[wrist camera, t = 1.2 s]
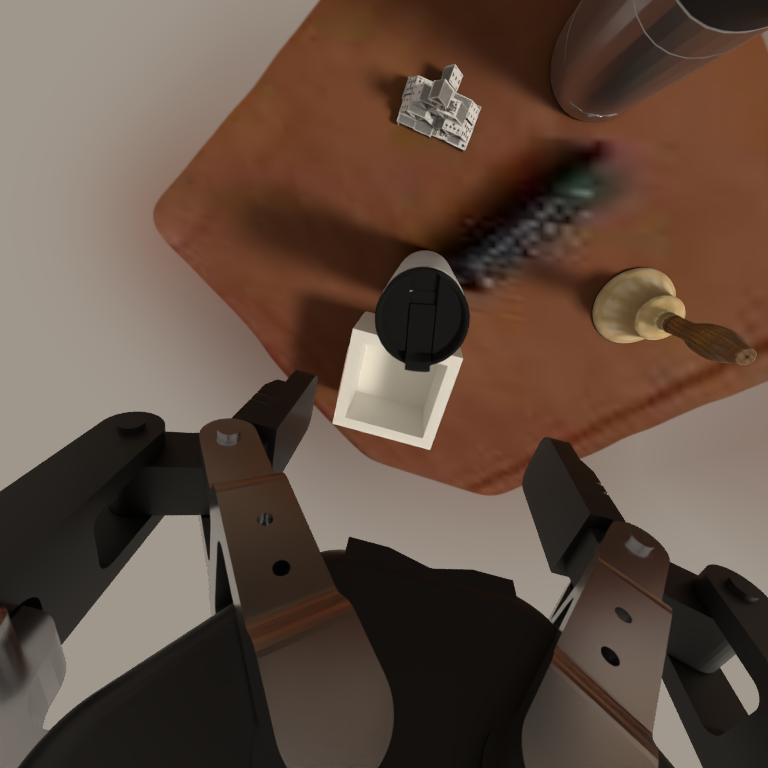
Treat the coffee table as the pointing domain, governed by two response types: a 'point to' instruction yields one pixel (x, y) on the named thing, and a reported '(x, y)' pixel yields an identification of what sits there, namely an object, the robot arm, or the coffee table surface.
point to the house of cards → (439, 108)
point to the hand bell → (661, 317)
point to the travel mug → (422, 312)
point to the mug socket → (391, 390)
